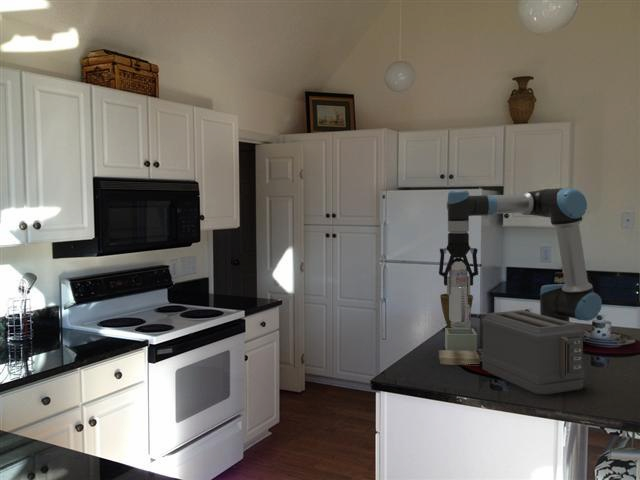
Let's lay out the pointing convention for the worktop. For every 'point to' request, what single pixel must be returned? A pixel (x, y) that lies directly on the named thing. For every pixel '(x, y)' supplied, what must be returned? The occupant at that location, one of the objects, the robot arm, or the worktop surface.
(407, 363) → the worktop surface
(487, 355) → the toaster
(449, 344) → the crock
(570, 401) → the worktop surface
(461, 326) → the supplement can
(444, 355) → the board
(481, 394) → the worktop surface
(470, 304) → the plant pot
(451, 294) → the water bottle
